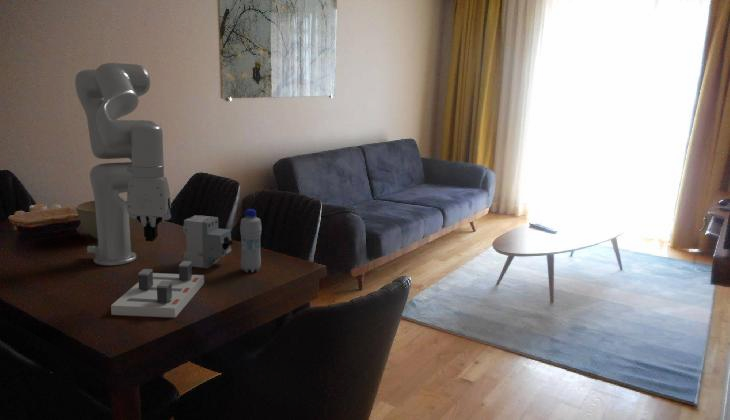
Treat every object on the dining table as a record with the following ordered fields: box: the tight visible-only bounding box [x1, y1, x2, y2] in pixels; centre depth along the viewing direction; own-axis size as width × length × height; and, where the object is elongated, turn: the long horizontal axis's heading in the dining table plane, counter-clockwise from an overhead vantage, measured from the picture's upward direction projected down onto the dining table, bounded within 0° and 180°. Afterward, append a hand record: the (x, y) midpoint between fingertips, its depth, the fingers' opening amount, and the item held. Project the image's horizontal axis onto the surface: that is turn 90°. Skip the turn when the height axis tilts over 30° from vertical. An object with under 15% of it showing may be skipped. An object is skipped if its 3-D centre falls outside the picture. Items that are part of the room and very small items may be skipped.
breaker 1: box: [157, 281, 172, 303], centre depth 136 cm, size 2×4×4 cm, turn 0°
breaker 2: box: [178, 260, 193, 281], centre depth 152 cm, size 2×4×4 cm, turn 0°
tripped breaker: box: [137, 268, 154, 290], centre depth 144 cm, size 2×4×4 cm, turn 0°
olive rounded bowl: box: [75, 200, 127, 240], centre depth 196 cm, size 18×18×12 cm
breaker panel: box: [110, 272, 205, 318], centre depth 145 cm, size 16×24×3 cm, turn 0°
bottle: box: [239, 208, 263, 273], centre depth 167 cm, size 7×7×20 cm
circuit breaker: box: [182, 214, 234, 269], centre depth 172 cm, size 8×14×15 cm, turn 78°
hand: (151, 239), depth 142 cm, fingers closed
